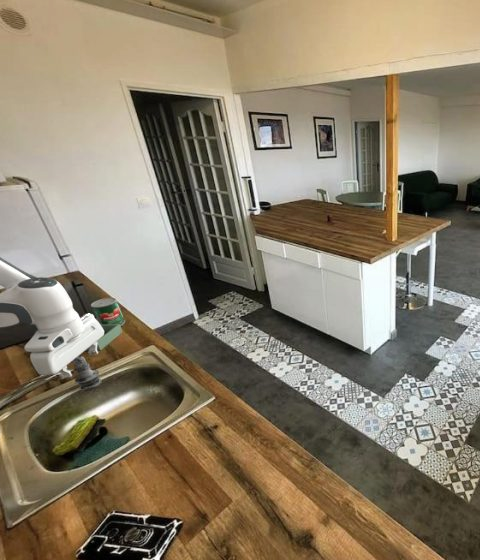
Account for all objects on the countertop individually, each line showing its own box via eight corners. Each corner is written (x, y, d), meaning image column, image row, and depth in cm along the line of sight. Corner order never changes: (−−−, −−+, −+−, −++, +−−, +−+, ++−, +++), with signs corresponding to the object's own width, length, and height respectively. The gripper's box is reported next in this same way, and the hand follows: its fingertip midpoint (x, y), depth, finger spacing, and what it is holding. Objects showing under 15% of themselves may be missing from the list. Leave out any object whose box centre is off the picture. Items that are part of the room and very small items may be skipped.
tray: (100, 350, 116) (96, 342, 115) (43, 352, 115) (38, 343, 113) (122, 331, 127) (119, 324, 125) (70, 333, 125) (66, 325, 124)
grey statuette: (102, 375, 105) (87, 347, 99) (104, 384, 101) (89, 355, 96) (78, 384, 101) (62, 355, 96) (79, 394, 97) (63, 364, 92)
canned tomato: (114, 318, 136) (104, 296, 131) (130, 320, 135) (121, 298, 130) (96, 328, 128) (85, 306, 124) (112, 330, 128) (102, 307, 123)
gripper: (80, 310, 101) (97, 344, 107) (17, 351, 82) (42, 389, 89) (100, 310, 101) (116, 344, 107) (43, 350, 83) (66, 388, 89)
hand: (82, 365), depth 98 cm, fingers open, 8 cm apart
